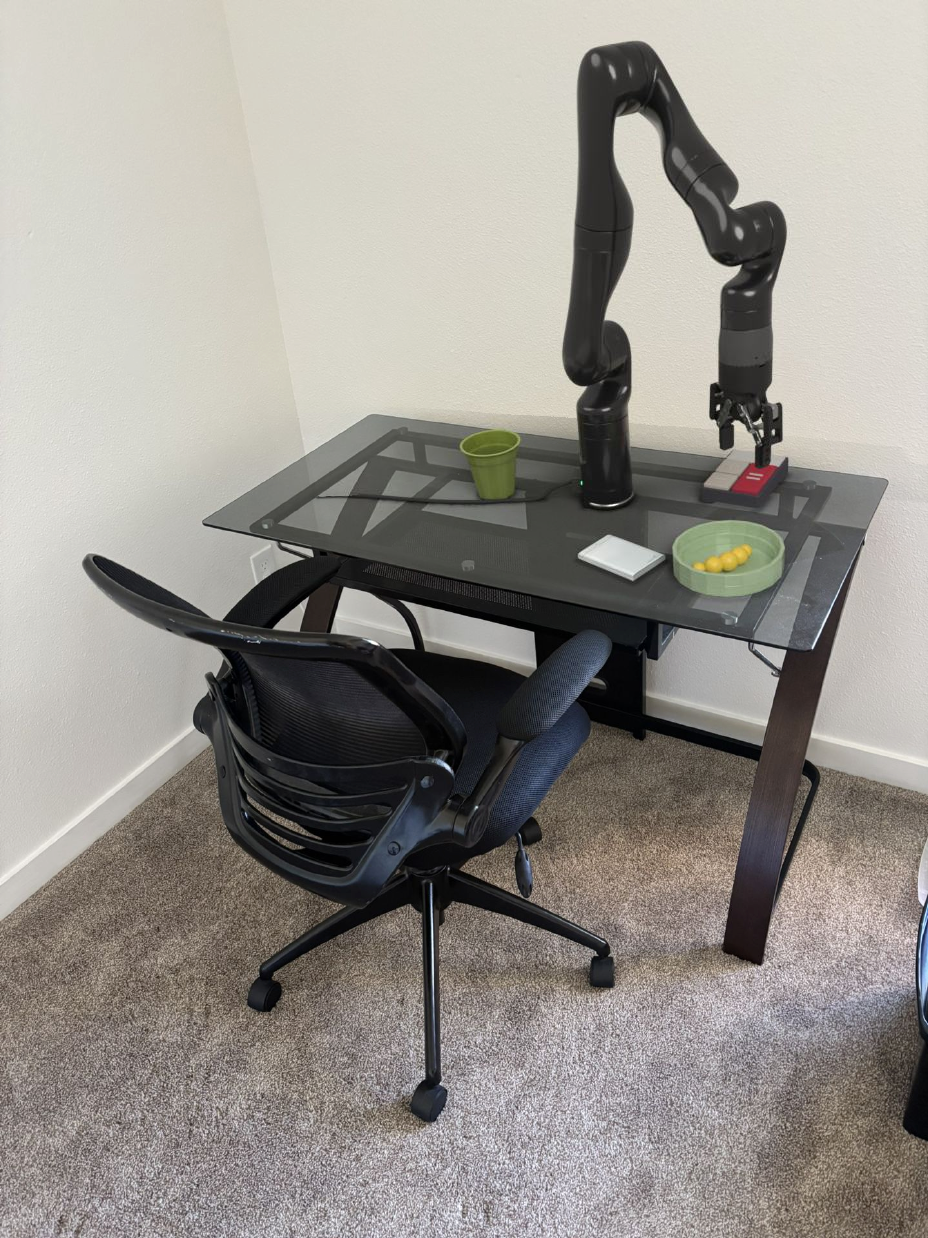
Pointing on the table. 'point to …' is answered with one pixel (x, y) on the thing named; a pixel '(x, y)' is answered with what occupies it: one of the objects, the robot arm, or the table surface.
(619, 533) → the table surface
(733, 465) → the calculator
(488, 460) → the plant pot
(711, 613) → the table surface
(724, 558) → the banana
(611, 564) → the hard drive
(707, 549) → the bowl
